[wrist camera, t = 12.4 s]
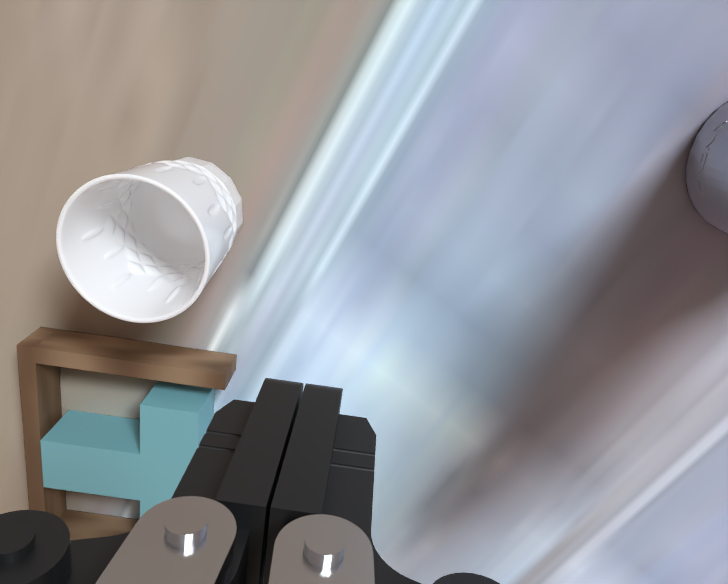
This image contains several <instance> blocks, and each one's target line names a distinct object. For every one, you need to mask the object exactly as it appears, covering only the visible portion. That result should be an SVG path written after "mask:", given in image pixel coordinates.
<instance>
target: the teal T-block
mask: <svg viewBox="0 0 728 584" xmlns="http://www.w3.org/2000/svg"><path fill="white" fill-rule="evenodd" d="M214 395H215V389H213V388H206V387H199V386H192V385H185V384H178V383H171V382H164V381H157V383H156V384H155V385H154V387H153V388H152V389H151V391H150V392H149V393H148V395H147V396H146V397H145V399H144V400H143V401H142V403H141V404H140V420H137V419H130V418H123V417H116V416H109V415H101V414H94V413H87V412H80V411H73V410H69V411H68V412H67V413H66V414H65V415H64V416H63V417H62V418H61V419H60V420H59V421H58V422H57V423H56V424H55V425H54V427H53V428H52V429H51V430H50V431H49V432H48V433H47V434H46V435H45V436H44V437H43V438H42V439H41V440H40V442H41V456H42V471H43V486H44V487H46V488H53V489H61V490H68V491H75V492H82V493H89V494H97V495H104V496H111V497H118V498H125V499H132V500H140V518H141V516H142V515H143V514H144V513H145V512H146V511H148V510H149V509H150V508H152V507H153V506H155V505H157V504H159V503H161V502H163V501H166V500H169V499H171V498H172V496H173V494H174V492H175V490H176V488H177V486H178V484H179V482H180V480H181V478H182V476H183V474H184V473H185V471H186V469H187V467H188V465H189V463H190V461H191V459H192V457H193V455H194V453H195V451H196V449H197V448H199V444H200V442H201V440H202V438H203V436H204V434H205V433H206V430H207V428H208V426H209V424H210V422H211V420H212V418H213V416H214Z"/></svg>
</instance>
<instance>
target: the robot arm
mask: <svg viewBox="0 0 728 584" xmlns="http://www.w3.org/2000/svg"><path fill="white" fill-rule="evenodd" d="M686 184H687V188H688V192H689V196H690V199H691V201H692V203H693V205H694V206H695V208H696V210H697V211H698V212H699V214H700V215H701V216H702V217H703V218H704V219H705V220H706V221H707V222H709V223H710V224H712V225H713V226H715V227H716V228H718V229H720V230H722V231H724V232H725V233H727V234H728V102H727V103H725V104H724V105H722V106H721V107H720V108H719V109H718V110H717V111H716V112H715V113H714V114H713V115H712V116H711V117H710V118H709V119H708V120H707V121H706V123H705V124H704V126H703V127H702V129H701V130H700V132H699V133H698V135H697V136H696V138H695V141H694V143H693V145H692V148H691V150H690V153H689V158H688V162H687V167H686ZM342 390H343V389H342V388H335V387H328V386H320V385H313V384H306V385H305V388H304V391H303V383H298V382H291V381H284V380H277V379H270V378H266V379H265V380H264V382H263V385H262V387H261V390H260V392H259V394H258V397H257V399H256V402H248V401H241V400H233V401H231V402H230V403H228V404H227V405H226V406H224V407H223V408H221V409H220V410H219V411H217V412H216V413H215V414H214V416H213V418H212V420H211V422H210V424H209V426H208V428H207V430H206V433H205V434H204V436H203V438H202V440H201V442H200V444H199V448H197V449H196V451H195V453H194V455H193V457H192V459H191V461H190V463H189V465H188V467H187V469H186V471H185V473H184V474H183V476H182V478H181V480H180V482H179V484H178V486H177V488H176V490H175V492H174V494H173V496H172V498H171V499H169V500H166V501H163V502H161V503H159V504H157V505H155V506H153V507H152V508H150V509H149V510H148V511H146V512H145V513H144V514H143V515H142V516H141V518H140V519H139V520H138V521H137V523H136V524H135V526H134V527H133V529H132V530H131V531H130V532H126V533H123V534H119V535H113V536H107V537H97V538H88V539H79V540H70V532H69V529H68V527H67V525H66V523H65V522H64V521H63V520H62V519H61V518H59V517H57V516H56V515H54V514H51V513H48V512H44V511H38V510H19V511H13V512H8V513H4V514H0V584H421V583H418V582H416V581H414V580H411V579H409V578H407V577H405V576H403V575H401V574H399V573H398V572H396V571H395V570H393V569H392V568H391V567H390V566H389V565H387V564H386V563H385V562H384V561H383V559H382V558H381V557H380V556H379V554H378V553H377V551H376V549H375V547H374V545H373V542H372V538H371V520H372V501H373V483H374V465H375V447H376V434H375V432H374V431H373V429H372V427H371V426H370V424H369V422H368V420H367V419H366V418H362V417H355V416H348V415H341V414H339V413H340V406H341V398H342ZM433 584H500V583H498V582H496V581H494V580H492V579H490V578H487V577H484V576H482V575H477V574H473V573H454V574H449V575H446V576H444V577H441V578H440V579H438V580H437V581H435V582H434V583H433Z"/></svg>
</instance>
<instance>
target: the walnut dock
mask: <svg viewBox="0 0 728 584" xmlns="http://www.w3.org/2000/svg"><path fill="white" fill-rule="evenodd" d="M17 355H18V368H19V381H20V394H21V407H22V420H23V433H24V446H25V459H26V472H27V485H28V498H29V510H38V511H44V512H48V513H51V514H54V515H56V516H57V517H59V518H61V519H62V520H63V521H64V522H65V523H66V525H67V527H68V529H69V532H70V540H79V539H88V538H97V537H107V536H113V535H119V534H123V533H126V532H130V531H131V530H132V529H133V527H134V526H135V524H136V523H137V521H138V520H137V519H130V518H123V517H116V516H109V515H102V514H95V513H88V512H81V511H74V510H67V509H66V491H65V490H61V489H53V488H46V487H44V486H43V471H42V456H41V442H40V440H41V439H42V438H43V437H44V436H45V435H46V434H47V433H48V432H49V431H50V430H51V429H52V428H53V427H54V425H55V424H56V423H57V422H58V421H59V420H60V419H61V418H62V411H61V391H60V371H59V367H66V368H73V369H80V370H87V371H94V372H101V373H108V374H115V375H122V376H129V377H136V378H143V379H150V380H157V381H164V382H171V383H178V384H185V385H192V386H199V387H206V388H213V389H220V390H225V389H226V387H227V385H228V383H229V381H230V379H231V377H232V375H233V373H234V372H235V370H236V356H237V355H235V354H228V353H221V352H214V351H207V350H200V349H193V348H186V347H179V346H172V345H165V344H158V343H151V342H144V341H137V340H130V339H123V338H115V337H108V336H101V335H94V334H87V333H80V332H73V331H66V330H59V329H52V328H45V327H40V328H39V329H37V330H36V331H35V332H33V333H32V334H31V335H29V336H28V337H27V338H25V339H24V340H23V341H21V342H20V343H19V344H17Z"/></svg>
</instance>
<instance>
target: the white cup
mask: <svg viewBox="0 0 728 584" xmlns="http://www.w3.org/2000/svg"><path fill="white" fill-rule="evenodd" d="M242 223H243V214H242V199H241V197H240V195H239V193H238V191H237V189H236V187H235V185H234V183H233V181H232V179H231V178H230V177H229V176H228V175H227V174H225V173H224V172H223V171H222V170H220V169H219V168H218V167H217V166H215V165H214V164H213V163H211V162H208V161H204V160H200V159H196V158H192V157H184V158H179V159H174V160H163V161H158V162H153V163H149V164H145V165H141V166H138V167H134V168H131V169H127V170H124V171H120V172H117V173H113V174H110V175H106V176H102V177H99V178H96V179H94V180H91V181H89V182H88V183H86V184H84V185H83V186H81V187H80V188H79V189H78V190H76V191H75V192H74V193H73V194H72V195H71V197H70V198H69V199H68V200H67V202H66V203H65V205H64V207H63V209H62V211H61V213H60V216H59V219H58V223H57V230H56V246H57V252H58V256H59V260H60V263H61V266H62V268H63V270H64V272H65V274H66V276H67V278H68V280H69V281H70V283H71V284H72V285H73V287H74V288H75V289H76V291H77V292H78V293H79V294H80V295H81V296H82V297H83V298H84V299H85V300H86V301H88V302H89V303H90V304H91V305H93V306H94V307H95V308H97V309H99V310H100V311H102V312H104V313H106V314H108V315H110V316H112V317H115V318H117V319H121V320H124V321H129V322H135V323H153V322H159V321H163V320H167V319H170V318H172V317H174V316H176V315H178V314H180V313H182V312H183V311H185V310H186V309H187V308H188V307H190V306H191V305H192V304H193V303H194V302H195V300H196V299H197V298H198V296H199V295H200V294H201V292H202V291H203V289H204V288H205V286H206V285H207V283H208V282H209V280H210V279H211V278H212V276H213V275H214V273H215V272H216V271H217V269H218V268H219V266H220V265H221V263H222V261H223V260H224V258H225V256H226V255H227V253H228V252H229V250H230V248H231V246H232V244H233V242H234V240H235V238H236V236H237V234H238V232H239V229H240V227H241V225H242Z"/></svg>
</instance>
